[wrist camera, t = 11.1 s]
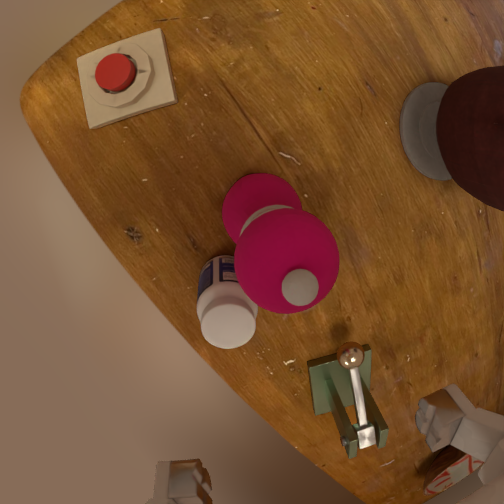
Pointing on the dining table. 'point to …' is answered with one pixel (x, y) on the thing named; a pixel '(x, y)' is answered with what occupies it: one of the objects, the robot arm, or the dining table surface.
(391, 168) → the dining table surface
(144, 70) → the box
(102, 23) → the dining table surface
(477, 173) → the mate gourd
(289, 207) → the pepper mill
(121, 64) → the button
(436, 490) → the bowl
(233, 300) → the pill bottle
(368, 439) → the lever
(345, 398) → the bracket
